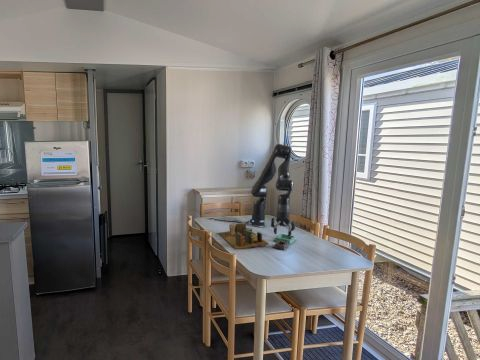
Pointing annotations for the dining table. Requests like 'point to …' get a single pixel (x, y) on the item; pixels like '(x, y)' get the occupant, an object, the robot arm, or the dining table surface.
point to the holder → (285, 238)
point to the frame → (281, 245)
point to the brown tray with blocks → (242, 236)
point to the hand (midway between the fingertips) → (282, 235)
